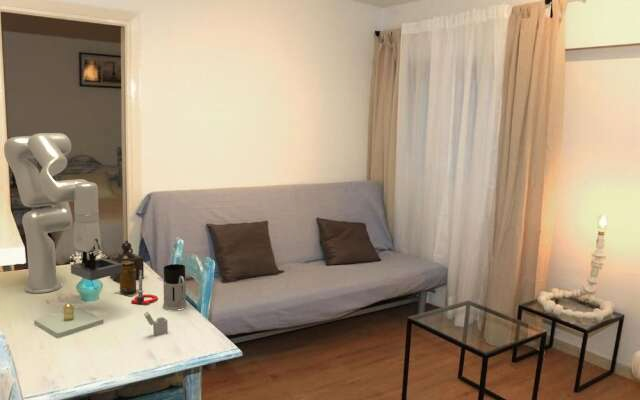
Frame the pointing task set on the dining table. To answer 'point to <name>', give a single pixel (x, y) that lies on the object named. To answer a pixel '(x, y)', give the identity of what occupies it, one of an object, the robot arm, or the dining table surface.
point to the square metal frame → (97, 269)
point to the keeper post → (68, 312)
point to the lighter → (157, 324)
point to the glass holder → (174, 287)
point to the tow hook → (140, 297)
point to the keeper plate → (68, 322)
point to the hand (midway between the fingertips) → (89, 268)
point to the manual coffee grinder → (128, 257)
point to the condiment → (128, 279)
